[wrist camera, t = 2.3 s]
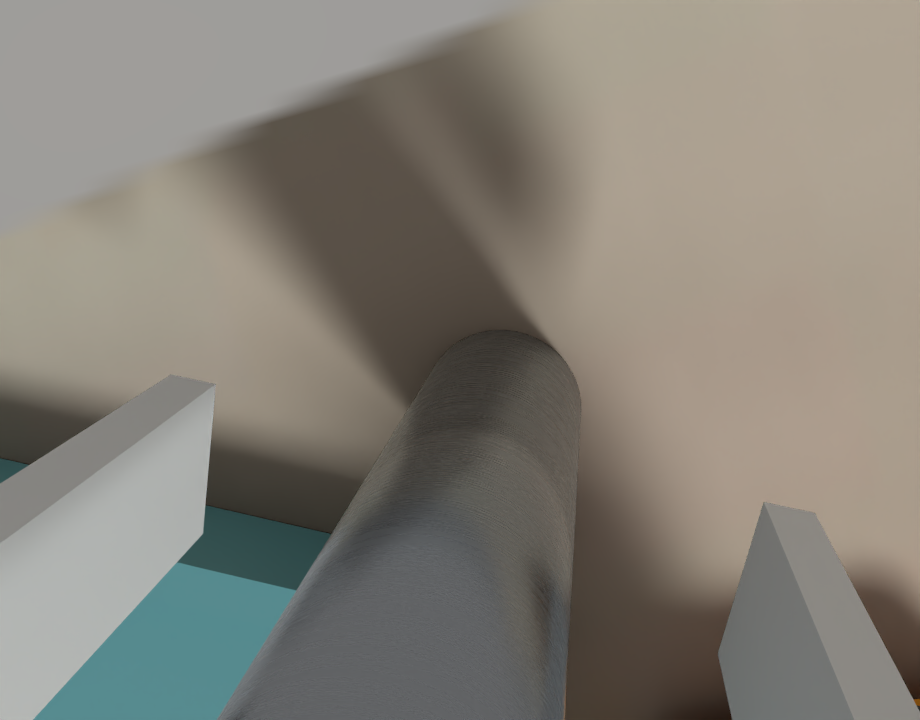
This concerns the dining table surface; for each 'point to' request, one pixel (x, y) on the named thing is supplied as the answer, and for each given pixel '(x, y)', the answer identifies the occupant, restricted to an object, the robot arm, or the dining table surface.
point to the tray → (192, 624)
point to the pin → (443, 559)
